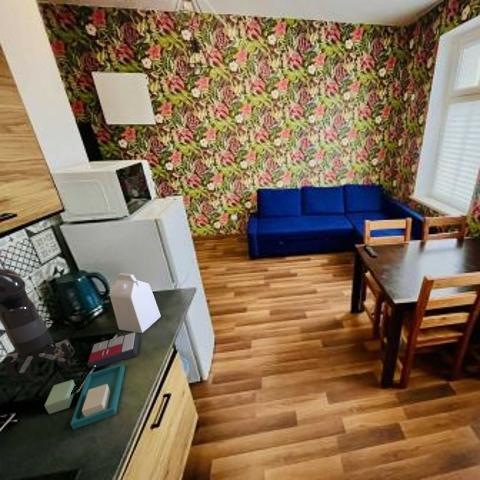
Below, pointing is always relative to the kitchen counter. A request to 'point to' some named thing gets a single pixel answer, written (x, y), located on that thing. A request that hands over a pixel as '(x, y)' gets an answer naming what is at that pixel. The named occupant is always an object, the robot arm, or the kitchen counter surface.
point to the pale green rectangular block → (60, 397)
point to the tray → (96, 379)
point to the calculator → (114, 350)
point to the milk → (133, 304)
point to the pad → (96, 400)
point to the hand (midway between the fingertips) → (50, 373)
